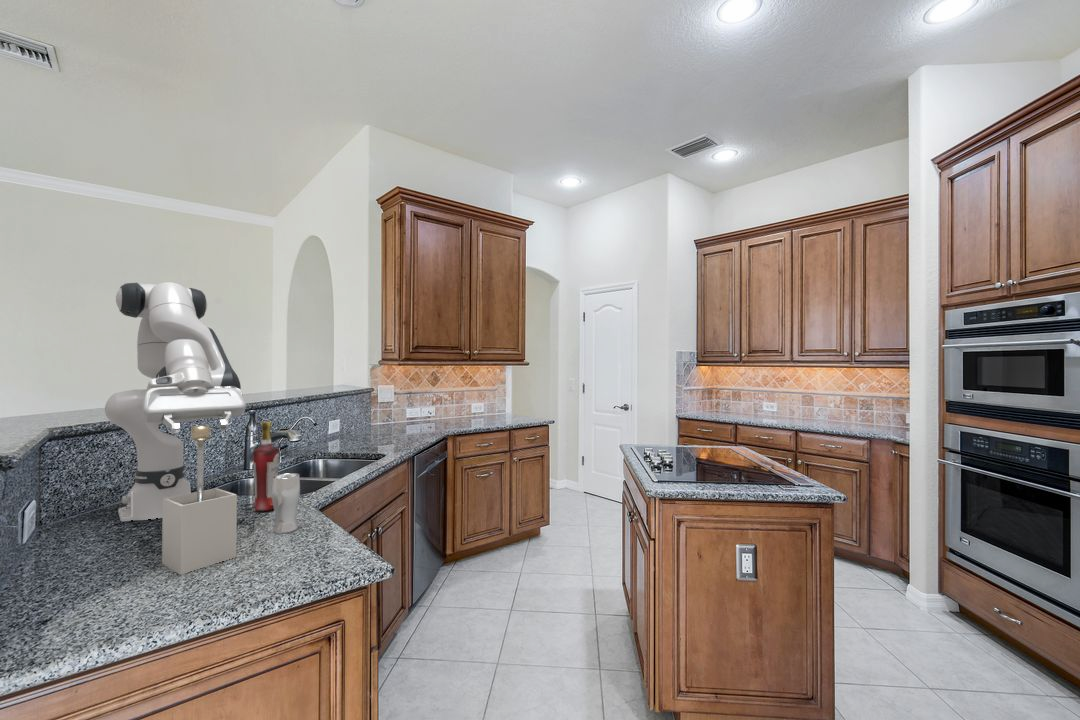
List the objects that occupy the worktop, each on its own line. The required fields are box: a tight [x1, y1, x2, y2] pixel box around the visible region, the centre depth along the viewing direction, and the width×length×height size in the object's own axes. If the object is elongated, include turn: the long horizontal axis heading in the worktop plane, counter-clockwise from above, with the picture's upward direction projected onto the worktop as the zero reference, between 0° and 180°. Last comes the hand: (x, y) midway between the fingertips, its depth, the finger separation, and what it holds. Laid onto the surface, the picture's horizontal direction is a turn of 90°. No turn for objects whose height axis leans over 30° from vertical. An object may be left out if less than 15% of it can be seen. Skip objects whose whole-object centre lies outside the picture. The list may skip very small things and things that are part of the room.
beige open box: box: [161, 487, 238, 576], centre depth 108 cm, size 11×11×15 cm
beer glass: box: [272, 472, 301, 534], centre depth 128 cm, size 7×7×15 cm
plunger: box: [183, 425, 214, 505], centre depth 108 cm, size 9×9×19 cm
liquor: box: [252, 421, 280, 512], centre depth 147 cm, size 7×7×28 cm
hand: (201, 429), depth 108 cm, fingers open, 8 cm apart
